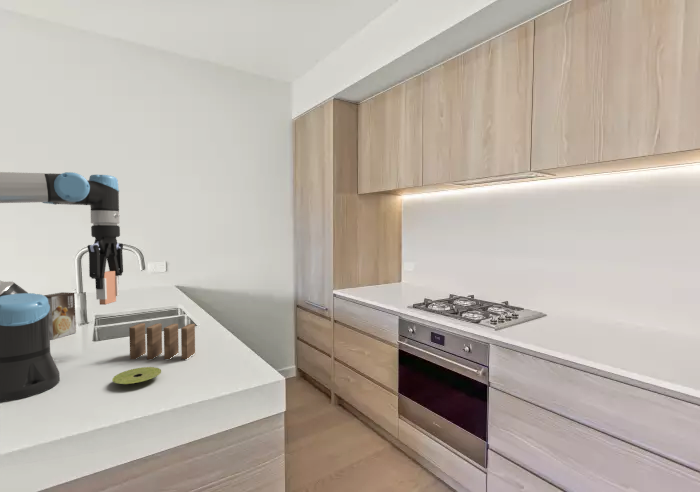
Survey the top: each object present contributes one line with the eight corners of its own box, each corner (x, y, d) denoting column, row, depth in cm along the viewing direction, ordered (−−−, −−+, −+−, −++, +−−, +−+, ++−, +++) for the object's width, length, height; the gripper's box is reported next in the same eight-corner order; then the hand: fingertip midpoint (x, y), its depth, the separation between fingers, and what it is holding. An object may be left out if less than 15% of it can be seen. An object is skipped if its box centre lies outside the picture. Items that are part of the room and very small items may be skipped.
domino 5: (195, 354, 117) (194, 324, 117) (187, 360, 112) (186, 328, 111) (189, 354, 117) (189, 323, 117) (181, 360, 112) (181, 328, 112)
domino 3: (162, 353, 117) (161, 323, 117) (152, 359, 112) (152, 327, 112) (156, 353, 118) (156, 323, 117) (147, 359, 112) (146, 327, 112)
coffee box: (63, 332, 143) (62, 291, 142) (76, 333, 142) (75, 292, 141) (39, 338, 134) (37, 295, 133) (53, 339, 133) (51, 296, 132)
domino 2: (145, 353, 118) (145, 323, 117) (135, 359, 113) (134, 327, 112) (140, 353, 118) (139, 323, 117) (130, 359, 113) (129, 327, 112)
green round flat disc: (111, 394, 88) (111, 387, 88) (112, 379, 97) (112, 371, 97) (163, 384, 94) (163, 377, 94) (159, 370, 103) (159, 363, 103)
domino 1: (116, 301, 118) (115, 270, 117) (105, 304, 112) (104, 272, 112) (110, 301, 118) (109, 270, 117) (99, 304, 112) (98, 272, 112)
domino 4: (178, 354, 117) (178, 323, 117) (169, 359, 112) (169, 328, 112) (173, 354, 117) (172, 323, 117) (164, 359, 112) (163, 327, 112)
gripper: (97, 224, 105) (100, 303, 106) (134, 225, 123) (136, 292, 124) (71, 224, 105) (74, 303, 106) (112, 225, 123) (114, 292, 124)
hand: (108, 297), depth 115 cm, fingers closed on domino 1, 5 cm apart
